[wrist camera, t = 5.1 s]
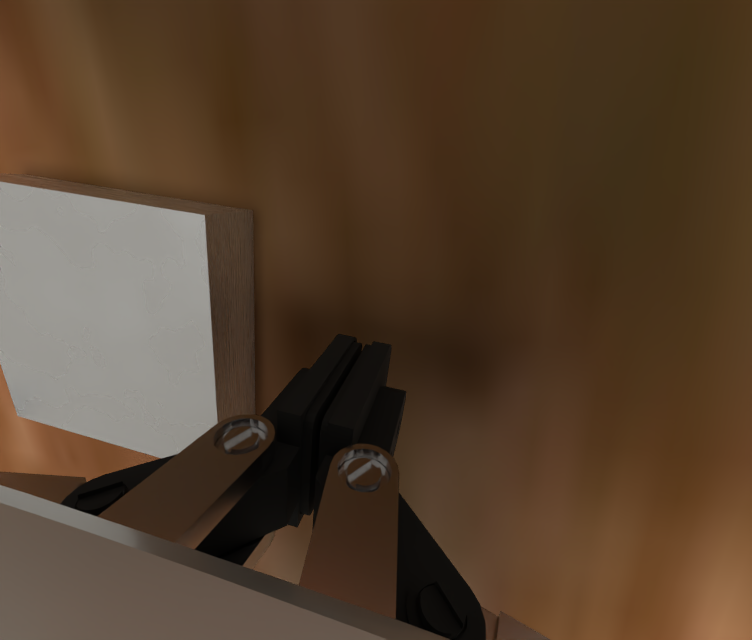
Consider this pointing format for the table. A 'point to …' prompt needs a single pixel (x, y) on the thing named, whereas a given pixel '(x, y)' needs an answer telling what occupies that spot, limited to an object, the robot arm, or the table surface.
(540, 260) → the table surface
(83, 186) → the metal plate
